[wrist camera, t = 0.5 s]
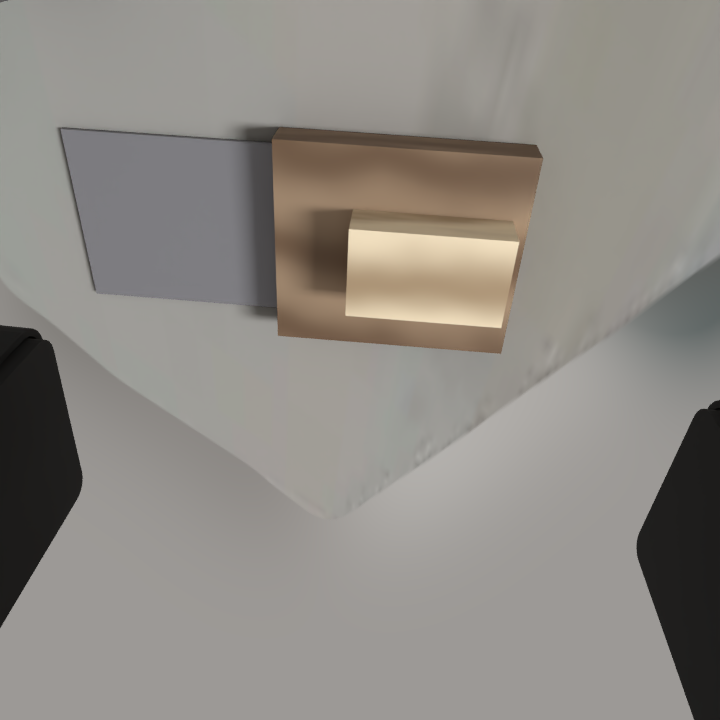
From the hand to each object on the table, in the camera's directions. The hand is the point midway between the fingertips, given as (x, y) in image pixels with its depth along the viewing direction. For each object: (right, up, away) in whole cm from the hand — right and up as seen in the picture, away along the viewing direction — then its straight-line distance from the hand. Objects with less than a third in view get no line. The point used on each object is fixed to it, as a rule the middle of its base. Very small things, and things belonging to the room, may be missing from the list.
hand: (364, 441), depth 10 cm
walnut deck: (+2, +9, +34) cm, 36 cm away
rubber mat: (-12, +11, +35) cm, 38 cm away
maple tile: (+4, +8, +32) cm, 33 cm away
